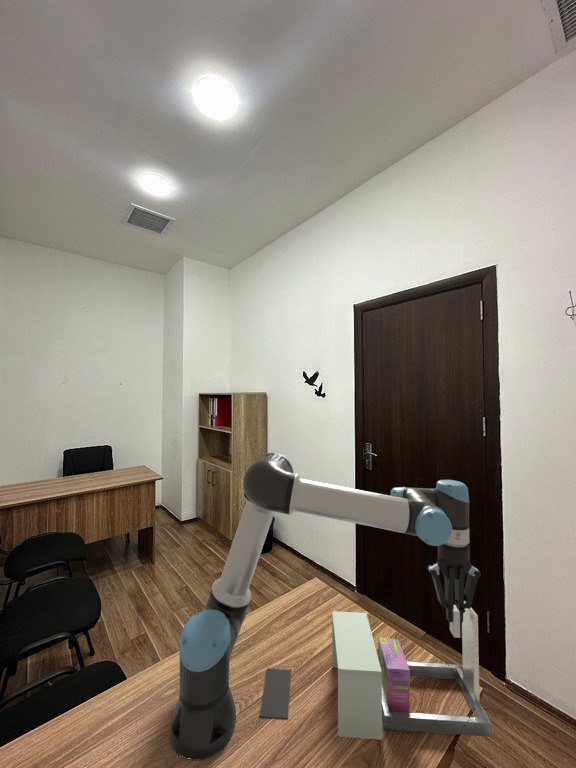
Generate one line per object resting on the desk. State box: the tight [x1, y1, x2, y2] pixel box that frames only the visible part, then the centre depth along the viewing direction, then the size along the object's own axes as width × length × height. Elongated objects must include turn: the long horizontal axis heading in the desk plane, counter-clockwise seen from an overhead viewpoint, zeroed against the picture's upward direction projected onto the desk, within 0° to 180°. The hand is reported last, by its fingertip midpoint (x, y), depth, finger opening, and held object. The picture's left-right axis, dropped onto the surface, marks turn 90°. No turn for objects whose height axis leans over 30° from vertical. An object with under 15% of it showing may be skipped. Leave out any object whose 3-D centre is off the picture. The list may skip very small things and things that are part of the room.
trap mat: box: [259, 667, 292, 720], centre depth 86 cm, size 7×14×1 cm, turn 176°
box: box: [377, 637, 411, 713], centre depth 84 cm, size 10×6×12 cm, turn 176°
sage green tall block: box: [331, 610, 383, 741], centre depth 85 cm, size 10×20×15 cm, turn 176°
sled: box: [382, 607, 492, 738], centre depth 84 cm, size 24×16×24 cm
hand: (454, 633), depth 84 cm, fingers closed
